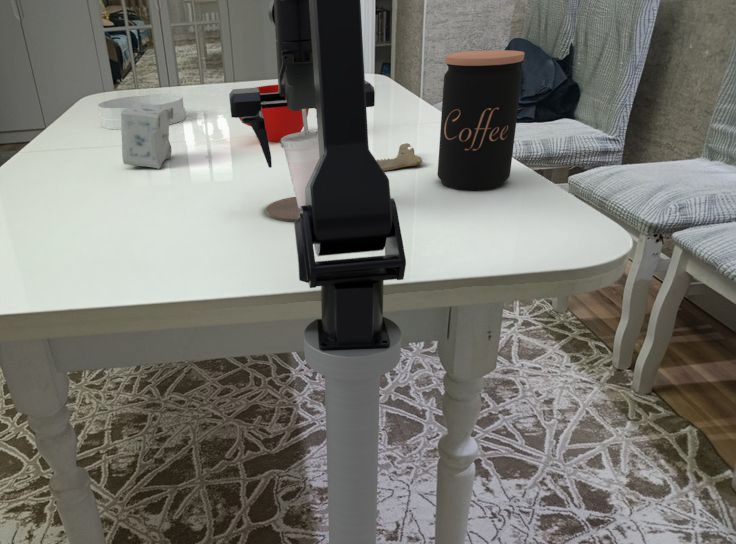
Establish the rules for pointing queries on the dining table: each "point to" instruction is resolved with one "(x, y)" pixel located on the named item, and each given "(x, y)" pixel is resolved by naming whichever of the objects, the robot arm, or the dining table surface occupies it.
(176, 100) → the dish
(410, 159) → the jawbone
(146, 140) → the incense holder
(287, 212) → the coaster
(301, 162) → the smoothie
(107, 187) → the dining table surface
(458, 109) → the coffee jar
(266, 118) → the ceramic cup
